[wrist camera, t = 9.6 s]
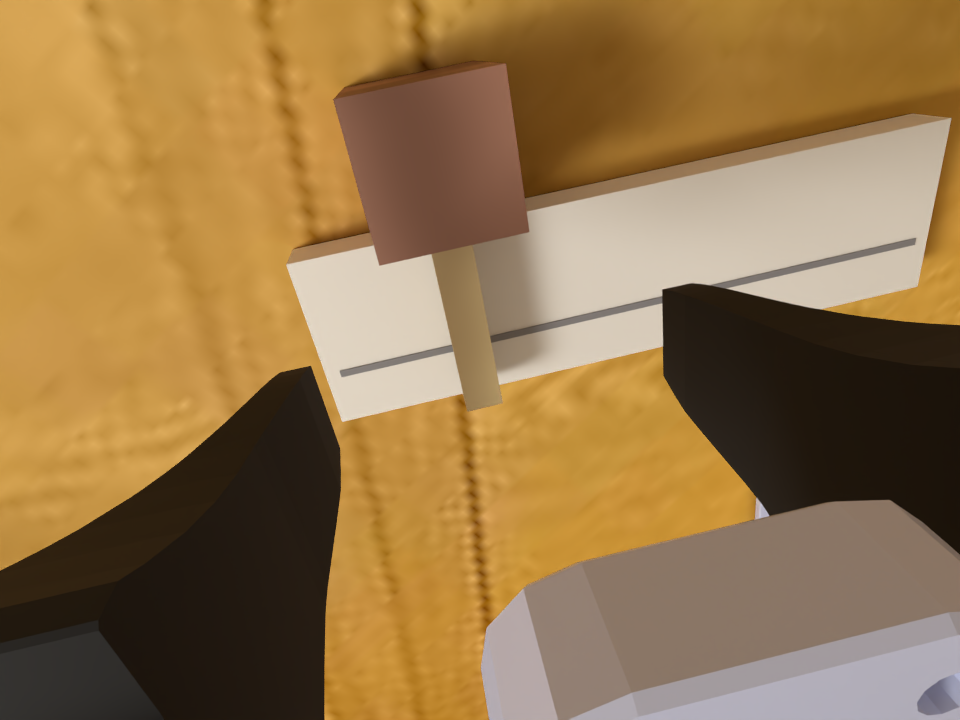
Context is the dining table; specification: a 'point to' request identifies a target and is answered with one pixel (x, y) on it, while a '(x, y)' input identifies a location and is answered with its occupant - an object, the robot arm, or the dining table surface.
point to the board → (633, 260)
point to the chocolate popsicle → (441, 188)
